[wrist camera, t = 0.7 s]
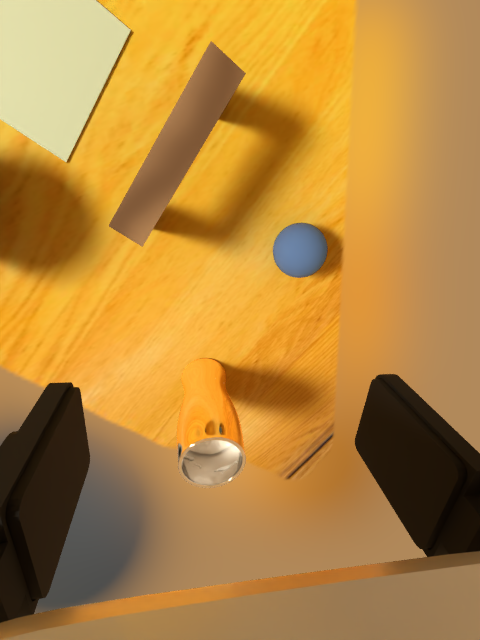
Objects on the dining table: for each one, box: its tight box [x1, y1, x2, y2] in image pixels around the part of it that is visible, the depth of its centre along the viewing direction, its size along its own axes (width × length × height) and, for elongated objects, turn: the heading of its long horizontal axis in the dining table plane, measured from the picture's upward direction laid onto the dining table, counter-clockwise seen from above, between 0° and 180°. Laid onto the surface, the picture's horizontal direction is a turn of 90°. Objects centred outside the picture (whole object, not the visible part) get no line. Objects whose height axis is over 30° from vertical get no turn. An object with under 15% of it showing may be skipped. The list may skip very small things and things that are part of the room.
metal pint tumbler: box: [177, 358, 246, 488], centre depth 38 cm, size 7×7×15 cm
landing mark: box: [0, 0, 131, 162], centre depth 28 cm, size 13×13×1 cm
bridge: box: [109, 42, 246, 246], centre depth 29 cm, size 3×15×10 cm, turn 144°
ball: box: [273, 223, 327, 278], centre depth 37 cm, size 6×6×6 cm
